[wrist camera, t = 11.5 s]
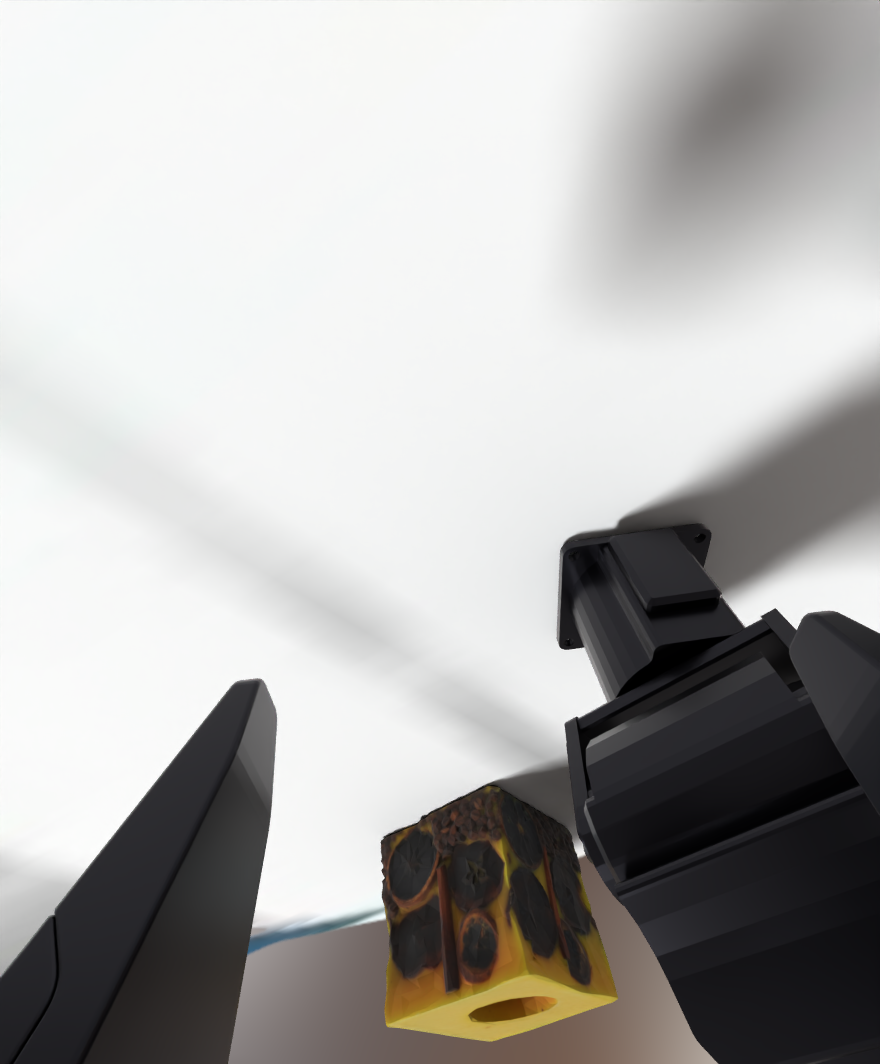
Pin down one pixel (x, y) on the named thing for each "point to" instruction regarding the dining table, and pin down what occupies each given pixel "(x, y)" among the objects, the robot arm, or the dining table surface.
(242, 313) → the dining table surface
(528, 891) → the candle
